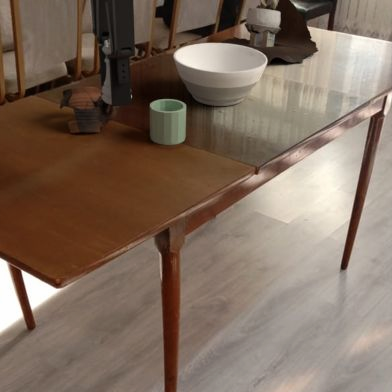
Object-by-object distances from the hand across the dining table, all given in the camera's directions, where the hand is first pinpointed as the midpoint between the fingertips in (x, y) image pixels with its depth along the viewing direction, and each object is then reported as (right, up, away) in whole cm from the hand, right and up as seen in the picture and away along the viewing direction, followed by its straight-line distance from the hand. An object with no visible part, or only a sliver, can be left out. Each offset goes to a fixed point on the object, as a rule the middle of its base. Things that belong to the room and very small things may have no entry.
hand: (116, 97), depth 91 cm
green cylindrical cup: (+6, +3, +26) cm, 27 cm away
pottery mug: (-9, +6, +29) cm, 31 cm away
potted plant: (+31, +39, +69) cm, 85 cm away
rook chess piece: (0, 0, 0) cm, 0 cm away
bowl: (+16, +17, +43) cm, 49 cm away
